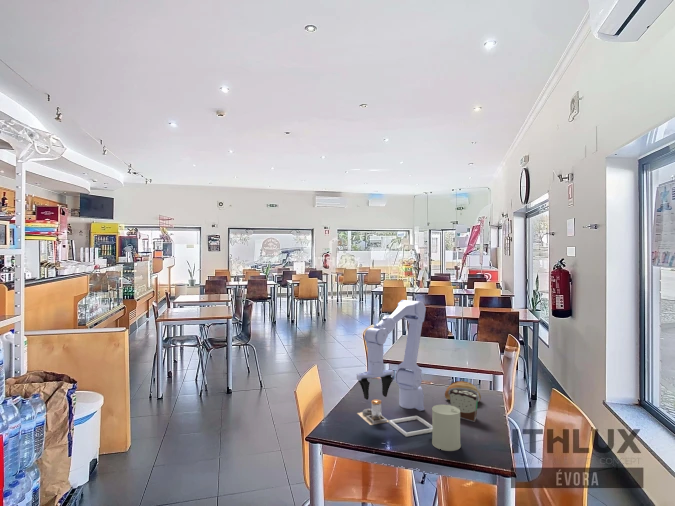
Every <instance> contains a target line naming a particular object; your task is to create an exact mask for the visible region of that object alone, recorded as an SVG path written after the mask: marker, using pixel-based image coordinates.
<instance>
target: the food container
mask: <svg viewBox="0 0 675 506" xmlns="http://www.w3.org/2000/svg"><path fill="white" fill-rule="evenodd" d="M448 394H450V400H449V403H450V405H451V406H455V407H457V408H459V409H460V419H463V420H466V421H469V422H474V423H476V421H477V413H478V403H479V402H480V401H481V400H480V398H479V395H478V393H477V392H476V391H474V390H471V389H467V388H452V389H449V392H448Z"/></svg>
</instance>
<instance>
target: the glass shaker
mask: <svg viewBox="0 0 675 506" xmlns="http://www.w3.org/2000/svg"><path fill="white" fill-rule="evenodd" d="M382 401H383V400H381V399H377V398H376V399H375V398H374V399H372V400H371V401H370V402H371V409H372V420H373V421H375V420H381V415H382Z"/></svg>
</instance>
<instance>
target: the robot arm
mask: <svg viewBox="0 0 675 506" xmlns="http://www.w3.org/2000/svg"><path fill="white" fill-rule="evenodd" d="M424 303H425V302H423V301H422V300H411V299H410V300H409V299H408V300H407V299H401V300H400V301H399V302H397V307H396V309H395V310H394V311H393V312H392V313H391V314H390V315H389V316H383V317H381V320H380V321H378V322H377V323H376V324H375V325H374V326H373V327H369V328H367V329H366V330H365V332H364V335H363V338H364V341H365V343H366V345H365V346H366V348H367V371H363V372H360V373H356V380H357V381H358V383H359V385H360V388H361V390H362V393H363V398H364V399H365V400H367V401H368V400H369V397H370V394H369V391H370V390H369V389H370V383H371V382H370V381H369V380H370V379H377V378H380V379H381V386H382V387H381V392H382V393H381V394H382V396H383V397H385V398H386V397H387V396H388V393H389V389H390V387H391V385H392V383H393V379H394V381H395V383H396V384H397V386H398V388H399V389H398V392H399V393H398V395H399V396H398V398H399V400H398V401H399V405H398V406H400V408H403V409H416V410H417V411H425V405H424V403H425V400H424V399H425V397H424V396H425V395H424V393H425V392H424V389H423V388H422V386H421V384H422V381H423V379H422V373H423V372H422V369H421V367H420V366H419V365H418V364H417V362H418V356H419V348H420V341H421V334H422V327H423V323H424V322H425V319H426V318H425V317H426V311H427V307H426V305H425V304H424ZM402 319H405V320H406V321H407V323H408V324H409V325H408V330H407V331H408V332H407V337H406V344H405V349H404V355H403V356H404V357H403V361H402V362H401V363H399V364H398V365H397V368H396V372H395V371H394V370H392V369H384V344H385V343H386V341H387V338H388V337H389V335H390V334H391V333H392V331H394V330H395V328H396V324H397V323H398V322H399V321H400V320H402ZM393 377H394V378H393ZM368 379H369V380H368Z"/></svg>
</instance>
